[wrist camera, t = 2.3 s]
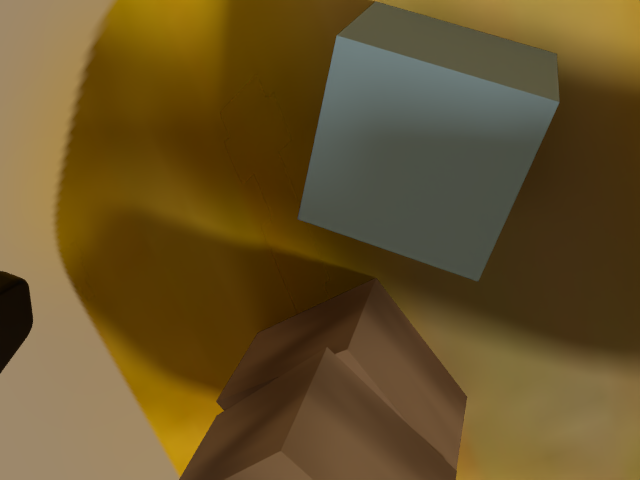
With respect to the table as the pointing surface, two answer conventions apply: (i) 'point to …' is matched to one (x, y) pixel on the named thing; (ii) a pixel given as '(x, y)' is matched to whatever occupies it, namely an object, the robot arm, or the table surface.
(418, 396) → the tower base
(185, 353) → the table surface
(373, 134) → the slate block
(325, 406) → the tower mid
